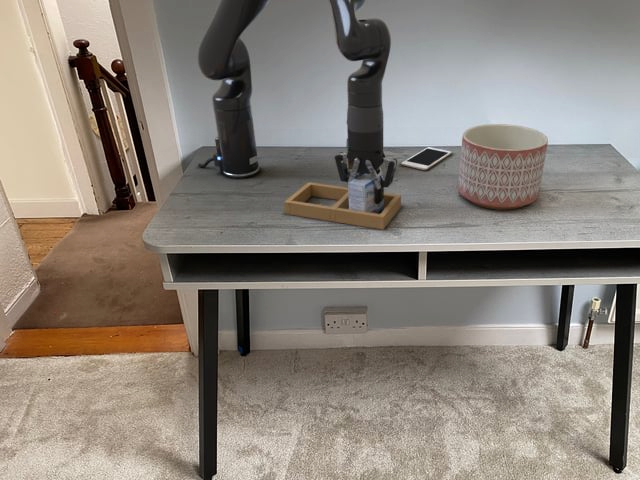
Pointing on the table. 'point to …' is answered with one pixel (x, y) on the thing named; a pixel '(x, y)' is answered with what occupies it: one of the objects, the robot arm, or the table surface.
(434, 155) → the cell phone
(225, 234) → the table surface
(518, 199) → the planter
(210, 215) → the table surface
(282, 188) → the table surface
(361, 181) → the medicine box
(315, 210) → the wooden divided frame
